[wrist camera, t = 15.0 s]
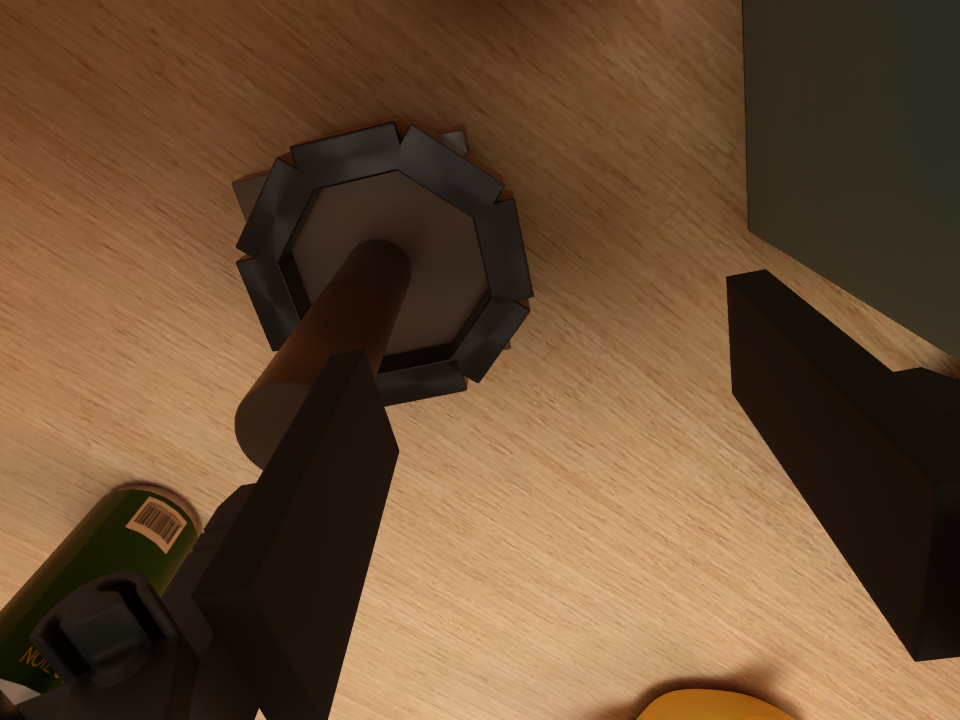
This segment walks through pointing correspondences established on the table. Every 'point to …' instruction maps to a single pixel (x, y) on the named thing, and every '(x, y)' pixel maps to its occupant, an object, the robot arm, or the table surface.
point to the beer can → (93, 573)
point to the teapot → (710, 707)
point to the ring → (437, 171)
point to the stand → (860, 149)
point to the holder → (365, 287)
